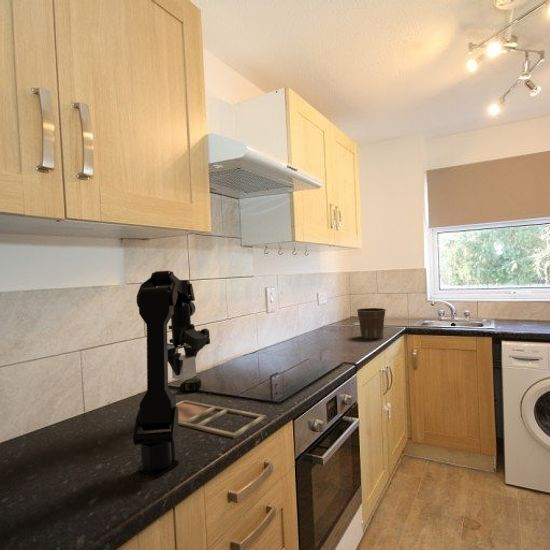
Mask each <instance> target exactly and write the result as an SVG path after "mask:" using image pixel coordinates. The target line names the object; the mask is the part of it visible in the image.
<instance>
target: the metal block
mask: <svg viewBox="0 0 550 550" xmlns="http://www.w3.org/2000/svg"><path fill="white" fill-rule="evenodd" d="M171 376H172V379H175V380H180V381H185V380H187V379H192V378H195V377H197V365H196V359H195V356H190V355H185V354H181V356H180V357H179V375H178V376H177V375H175V373H174V371H173V369H172V368H171Z"/></svg>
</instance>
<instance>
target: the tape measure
mask: <svg viewBox="0 0 550 550" xmlns="http://www.w3.org/2000/svg"><path fill="white" fill-rule="evenodd" d="M201 387H202V380H201V378H199V377H191V378H189V379H186V380H183V382H181V383H180V386H178V388H179V390H180V391H181V392H194V391H198V390H200V389H201Z"/></svg>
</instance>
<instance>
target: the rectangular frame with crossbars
mask: <svg viewBox="0 0 550 550" xmlns="http://www.w3.org/2000/svg"><path fill="white" fill-rule="evenodd" d="M176 407H178V413H179V417H178V426H179V425H180V426H183V427H187V428H190V429H191V428H192V429H196V430H199V431H202V432H203V431H204V432H208V433H213V434H216V435H220V436H223V437H228V438H232V439H236V438H237V437H238V436H239V437H240V435H242V434H243V433H245V432H246V431H248V430H250V429H251V428H253V427H254V426H256V425H257V424H259V423H260V422H262V421H263V420H265V419H267V415H264V414H259V413H255V412H249V411H243V410H238V409H235V408H228V407H223V406H218V405H212V404H207V403H202V402H198V401H192V400H189V399H188V400H187V399H184V400H181V401H178V402H177V403H176ZM213 411H219V412H216V413H215V414H213V415H211V416H209V417H208V418H205V419H203V420H202V421H200V422H198V423H192V422H195V421H196V420H199V419H200V418H202V417H203V416H206V415H207V414H210V413H212V412H213ZM227 413H231V414H236V415H241V416H244V417H245V416H246V417H250V418H256V419H254V420H252V421H251V422H249V423H248V424H246V425H244V426H243V427H241V428H240V429H238V430H236V431H234V432H231V431H226V430H222V429H218V428H214V427H209V426H205V425H206V424H208V423H210V422H212V421H214V420H216V419H217V418H219V417H221V416H223V415H225V414H227Z"/></svg>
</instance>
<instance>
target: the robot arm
mask: <svg viewBox="0 0 550 550" xmlns="http://www.w3.org/2000/svg"><path fill="white" fill-rule="evenodd" d="M136 294H137V295H136V307H138V312H139V313H138V314H139V316H140V317H141V319H142V320H143V322H144V323H145V324H146V385H147V386H146V391H145V393H144V395H143V397H142V399H141V401H140V402H139V408H138V409H139V410H138V411H137V415H136V416H135V424H134V429H133V436H132V440H133V445H134V446H137V445H138V446H139V445H140V455H141V465H139V466H138V467H137V471H138V472H140V473H143V474H146V475H149V476H152V477H154V478H158V477H161V476H162V475H163V474H165V473H167V472H169V470H172V469H173V468H175V467H177V466H178V465H180V461H179V460H177V459H176V448H175V446H176V445H175V442H176V439H177V437H178V435H179V425H178V417H179V413H178V407H176V404H177V403H176V402H177V401H176V399H177V397H176V395H175V393H174V392H172V390H171V389H170V388H169V368H168V367H169V366H170V368H171V370H172V369H173V371H174V373H175V375H177V376H178V375H179V357H180V356H181V355H183V354H182V353H180V352H179V350H180V349H183V351H184V355H190V356H195V360H196V358H197V355H198V353H199V352H200V350H203V348H204V347H206V346H208V345H210V344H211V338H210V336H211V335H210V330H209V329H208V328H202V329H201V330H196V329H195V324H194V323H192V322H191V321H192V320H191V317H192V316H193V315H194V314H195V313H196V309H197V308H196V305H195V303H194V302H195V301H196V298H195V292H194V288H193V283H192V282H190V280H189V279H180V278H178V277H177V276H176V275H175V273H174V271H171V270H156V271H154V272H152V273H151V275H150V277H149V278H148V279H147V280H145V281H144V282H143V283H141V285H140V286H139V288H138V292H137V293H136ZM169 322H171V323H170V325H168V323H169ZM168 330H171V338H170V339H169V340H168ZM168 341H169V343H168ZM161 430H166V431H161ZM169 430H170V431H169ZM148 431H152V432H148Z"/></svg>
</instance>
